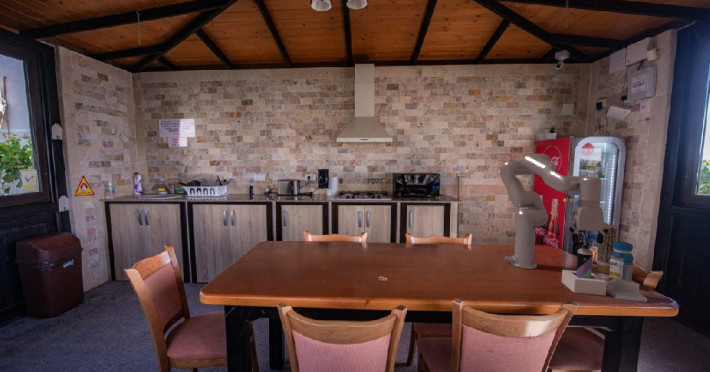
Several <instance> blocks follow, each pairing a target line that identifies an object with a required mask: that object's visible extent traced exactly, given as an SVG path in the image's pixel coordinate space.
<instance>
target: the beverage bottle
mask: <svg viewBox="0 0 710 372" xmlns="http://www.w3.org/2000/svg"><path fill="white" fill-rule="evenodd" d="M633 247H634V245H633V244H632V243H629V242H625V241H616V242H614V244H613V249H615V250H614V251H613V252H612V253H611V255H610V256H611V259H610V273H609V274H608V275H609V276H608V280H607V281H608V282H609V281H611V280H613V279H615V278H616V279H622V280H626V281H630V282H633V280H632V278H633V270H634V269H633V268H634V266H635V264H634V261H635V260H634V259H635V257H634V255H633V254H632V252H633Z"/></svg>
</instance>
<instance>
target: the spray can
mask: <svg viewBox="0 0 710 372" xmlns="http://www.w3.org/2000/svg"><path fill="white" fill-rule="evenodd" d="M576 254H577V255H576V256H577V257H576V270H575V271H576V276H577V277H578V278H587V279H591V272H592V271H593V269H592V268H593V258H594V257H593V256H594V252H593V250H591V249H590V248H589V246H588V245H587V244H583V245H582V247H581V248H579V249H577V253H576ZM592 273H593V272H592Z"/></svg>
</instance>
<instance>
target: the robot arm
mask: <svg viewBox="0 0 710 372" xmlns="http://www.w3.org/2000/svg"><path fill="white" fill-rule="evenodd" d="M533 174H536V175H538V176H539V177H541V178H542V180H543V182H544V183H545V184H546V185H547V186H548V187H551V188H552V189H554V190H555V191H558V192H560V193H579V194H578V201H575V203H574V204H575V206H576V209H575V212H574V218H573V219H572V220H571V221H567V222H565V226H566V228H567V229H568V230H569V231H570V233H571V241H572V242H573V243H578V240H579V237H578V236H579V235H578V232H579V231H587V232H597V234H596V243H597V244H598V243H599V244H602V243H603V239H604V235H605V234H606V233H607V232H608V231H609V229H610V228H611V225H612V224H609V223H607V222H605V218H604V211H603V208H601V195H602V193H601V192H602V179H601V177H597V176H580V175H579V176H578V175H575V176H574V175H563V174H561V173H559V172H557V165H556V164H555V163H554V162H552V160H551V158H550V156H549V155H547V154H545V153H544V154H543V153H528V154H526V155H524V156H523V157H522V160H507V161H505V162H504V163H502V165H501V167H500V170H499V176H500V179H501V181H502V183H503V184H504V186H505V188H506V192H507V194H508V196H509V200H510V202H511V205H512V206H513V207H514V208H519V210H517V211H516V212H515V214H514V218H513V219H514V223H515V234H514V235H515V238H514V239H515V240H514V241H515V242H514V254H512V255H511V256H506V255H505V256H504V260H506V261H509V262H510V264H511V265H512V266H514V267H517V268H520V269H528V270H529V269H531V270H533V269H536V268H537V267H538V266H537V265H538V264H536V263H535V250H536V249H535V246H536V233H535V230H534V227H538V226H540V227H541V226H543V225H546V223H548V220H549V215H548V213H547V210H546V207H545V206H544V203H543V200H542V198H541V196H540V195H539V194H538V193H537V192H535V191H533V190H532V191H531V190H526V189H525V188H524V186H523V183H522V182H521V180H520V179H519V178H518V177H517V176H529V175H533ZM572 225H573V227H572ZM604 226H605V229H604Z"/></svg>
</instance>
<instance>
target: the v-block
mask: <svg viewBox="0 0 710 372" xmlns="http://www.w3.org/2000/svg"><path fill="white" fill-rule="evenodd" d="M606 294H608V295H610V296H611V297H613V298H614V299H615V300H623V301H624V300H626V301H633V302H634V301H635V302H645V303H648V297H645V296H644V295H643V294H641V293H640V283H637V282H633V281H631V282H630V281H626V280H622V279H616V278H615V279H613V280H611V281H608V285H606Z"/></svg>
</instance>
